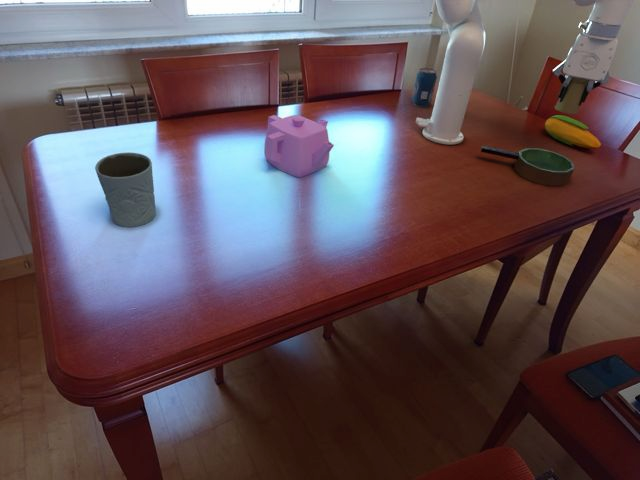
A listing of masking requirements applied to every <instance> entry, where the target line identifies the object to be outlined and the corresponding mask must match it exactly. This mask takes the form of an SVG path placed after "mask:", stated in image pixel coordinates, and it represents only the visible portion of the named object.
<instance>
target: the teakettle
mask: <svg viewBox="0 0 640 480" xmlns="http://www.w3.org/2000/svg"><path fill="white" fill-rule="evenodd" d="M328 123H329V121H328V120H326V119H319V121H318V122H316V121H314V120H311V119H310V118H307V117H305V116H302V115H298V114H292V115H288V116H286V117H280V116H278V115H275V114H273V115H270V116H268V117H267V130H266V134H265V138H264V157H265V160H266V162H267V163H269V164H270V165H272V166H273V167H274V168H276V169H278V170H280V171H282V172H284V173H286V174H288V175H291V176H293V177H295V178H303V177H306V176H308V175H310V174H313V173H315V172H318V171H319V170H322V169H324V168H326V167H327V165H328V163H329V162H330V161H329V160H330V152H331V151H332V149H333V148H334V146H335V145H334V144H333V143H332V142H331V141H330V139H329V132H328V128H327V126H328Z"/></svg>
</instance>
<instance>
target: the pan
mask: <svg viewBox="0 0 640 480" xmlns="http://www.w3.org/2000/svg"><path fill="white" fill-rule="evenodd" d="M480 153H485V154H489V155H494V156H498V157H502V158H507V159H512V160H515V163H514V171H515V172H516V174H517V175H519V176H520V177H522V178H523V179H525V180H527V181H529V182H532V183H535V184H539V185H541V186H547V187H548V186H549V187H560V186H564V185H566V184H567V183H569V182H570V179H571V177H572V175H573V173H574V171H575V164H574V162H573V161H572V160H570V159H569V158H568V157H567V156H564V155H563V154H560V153H557V152H555V151H552V150H548V149H543V148H535V147H533V148H530V147H529V148H528V147H527V148H524V149H522V150H519V151H518V152H517V151H512V150H507V149H503V148H497V147H493V146H489V145H488V146H487V145H483V144H482V146H481V149H480Z"/></svg>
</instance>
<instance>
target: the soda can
mask: <svg viewBox="0 0 640 480" xmlns="http://www.w3.org/2000/svg"><path fill="white" fill-rule="evenodd" d="M437 78H438V76H437V71H436V70H435V69H432V68H427V67H423V68H420V69H419V70H418V72H417V73H416V77H415V83H414V88H413V92H412V98H411V101H412V105H414V106H416V107H419V108H427V107H428V106H430V104H431V103H432V100H433V96H434V91H435V87H436V82H437Z"/></svg>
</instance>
